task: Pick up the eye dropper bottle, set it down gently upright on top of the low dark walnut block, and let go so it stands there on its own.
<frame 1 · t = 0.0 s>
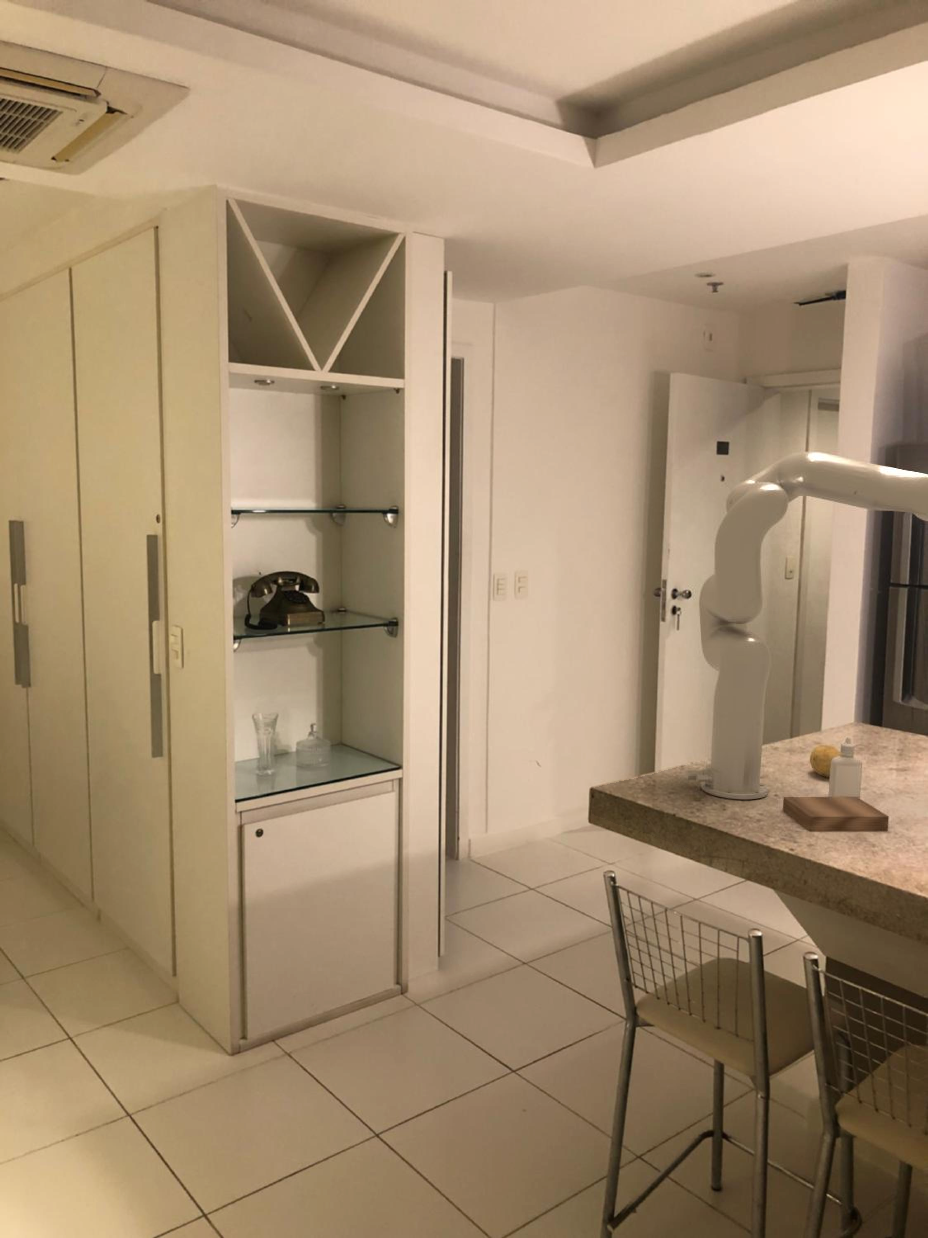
eye dropper bottle: (843, 799, 197), on the counter
walnut block: (833, 822, 183), on the counter
potato: (825, 776, 214), on the counter
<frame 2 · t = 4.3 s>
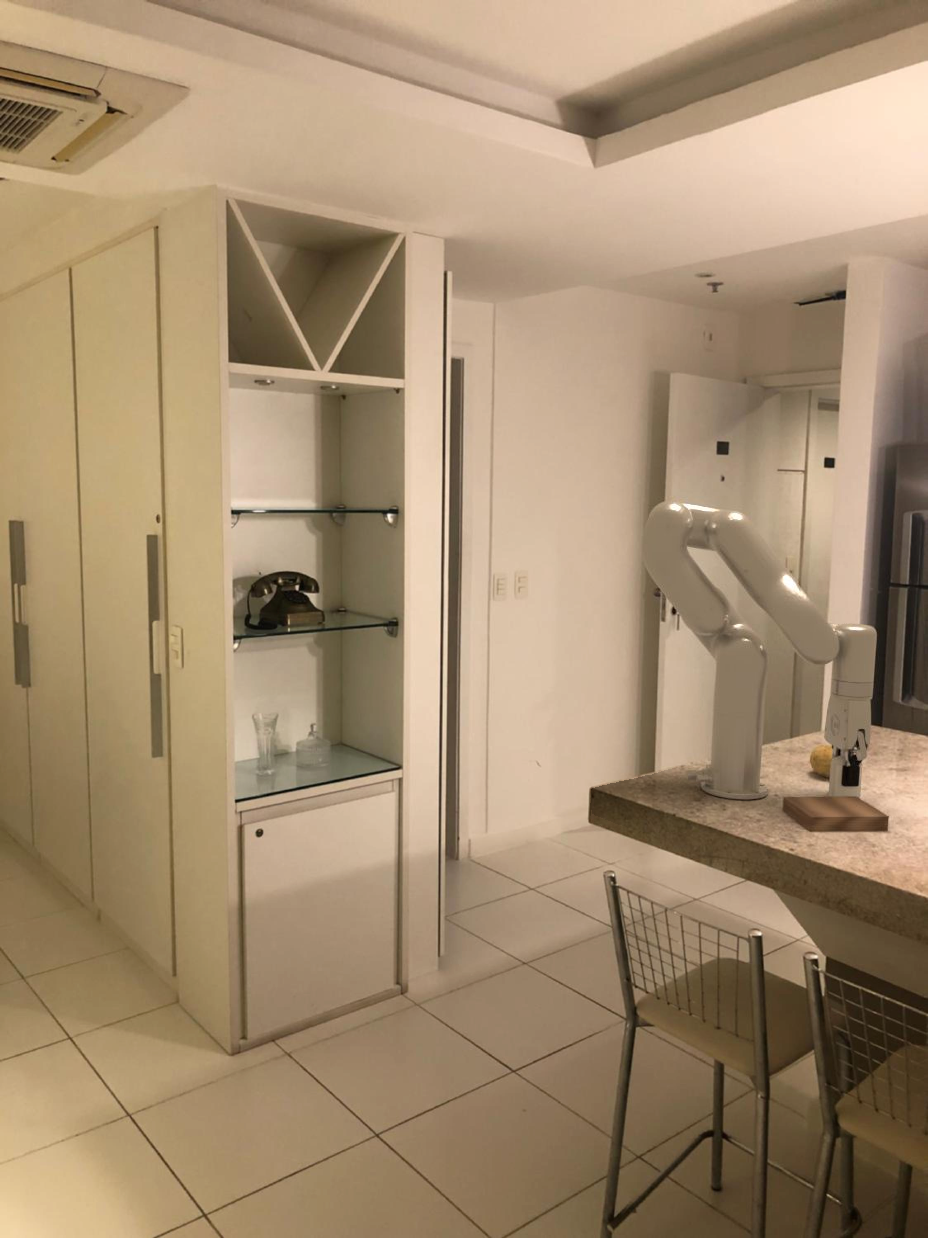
hand: (845, 782, 197), 3 cm above the counter, tool pointing down, fingers closed on eye dropper bottle, 3 cm apart
eye dropper bottle: (843, 799, 197), on the counter, touching gripper
everything else where it was.
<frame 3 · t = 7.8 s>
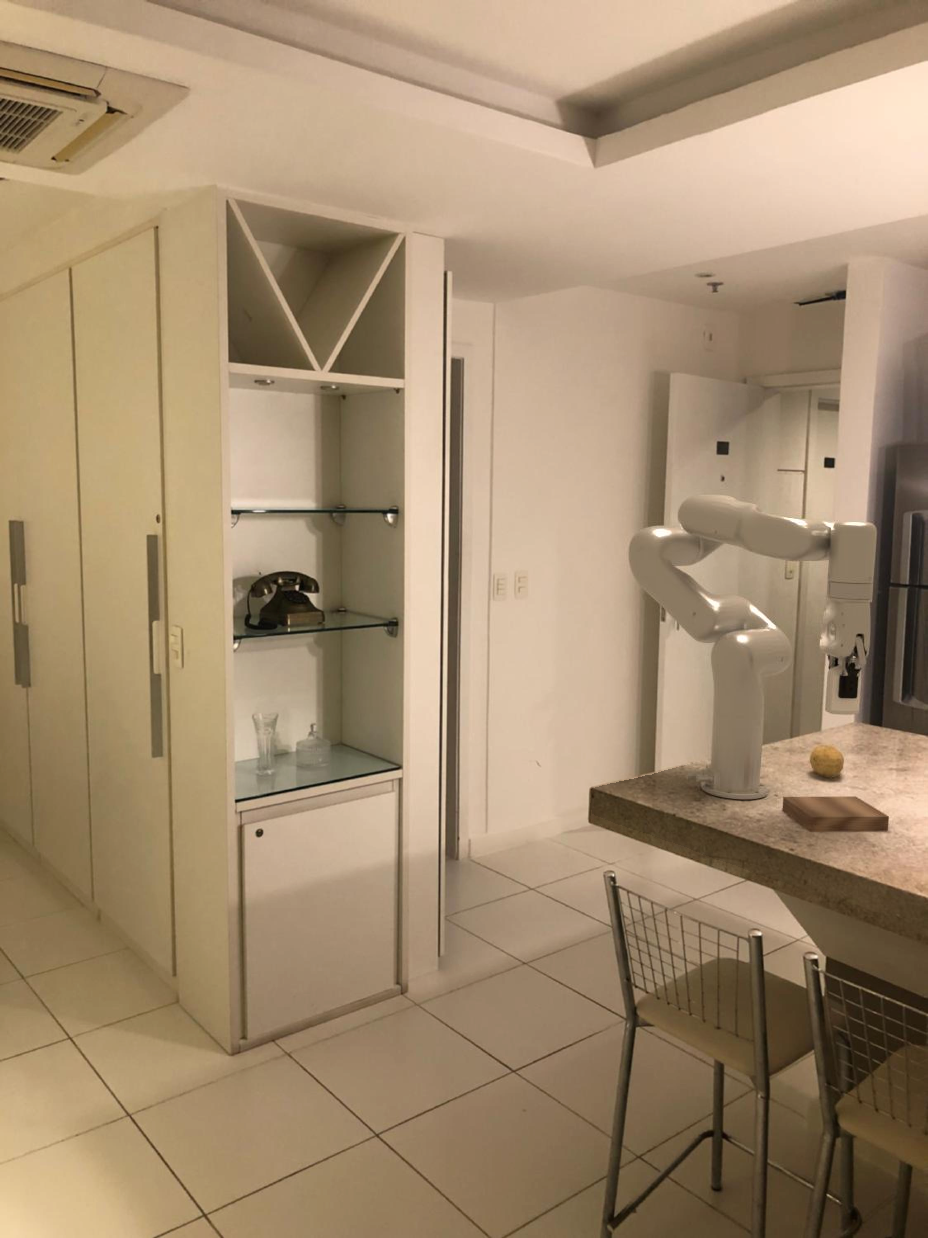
hand: (842, 694, 181), 23 cm above the counter, tool pointing down, fingers closed on eye dropper bottle, 3 cm apart
eye dropper bottle: (841, 714, 181), point 19 cm above the counter, touching gripper
everything else where it was.
when the fingers open (7 cm above the counter, at t = 11.4 s): eye dropper bottle drops 1 cm, point 2 cm above the counter.
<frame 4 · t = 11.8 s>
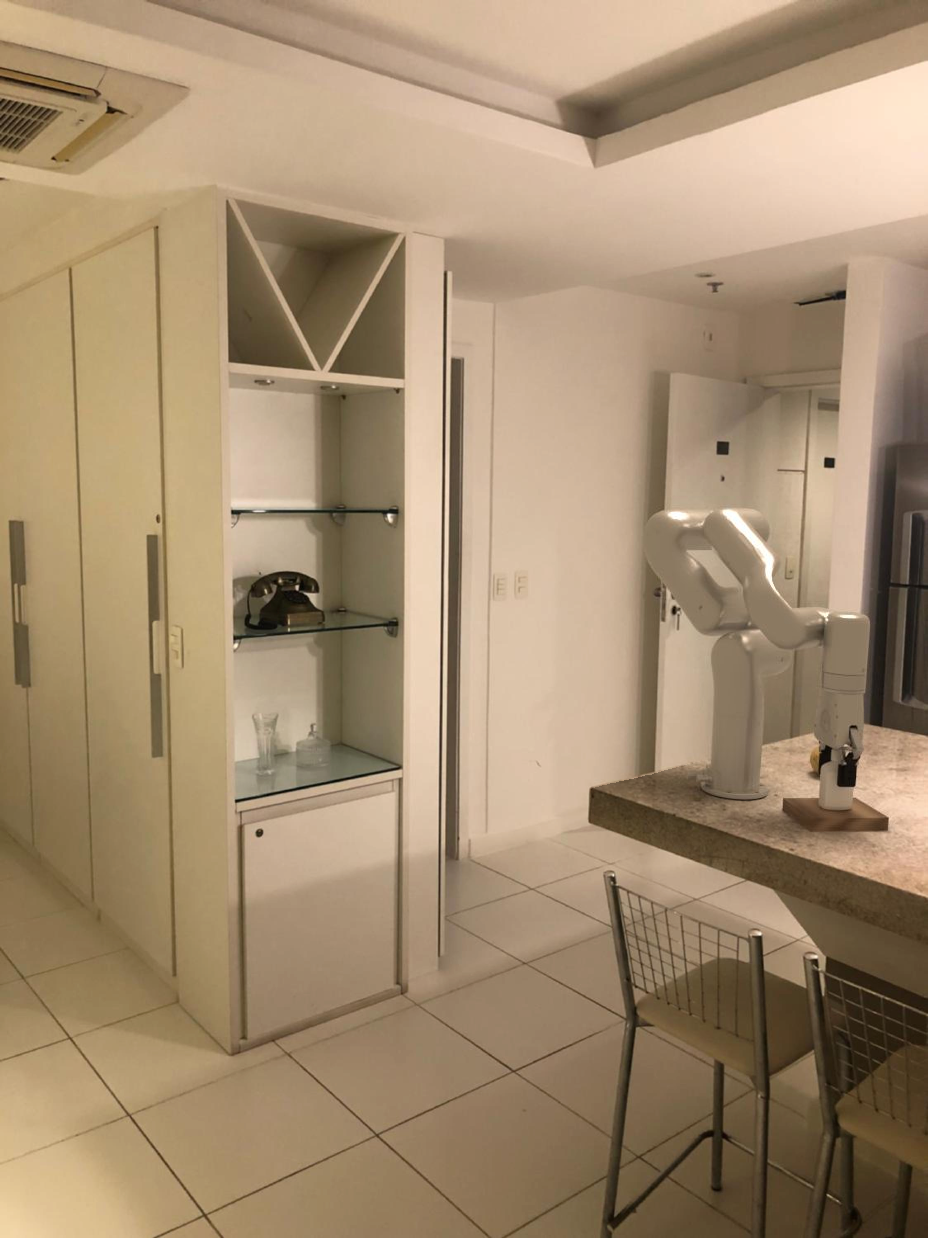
hand: (836, 779, 182), 7 cm above the counter, tool pointing down, fingers open, 7 cm apart
eye dropper bottle: (835, 809, 183), point 2 cm above the counter
everything else where it was.
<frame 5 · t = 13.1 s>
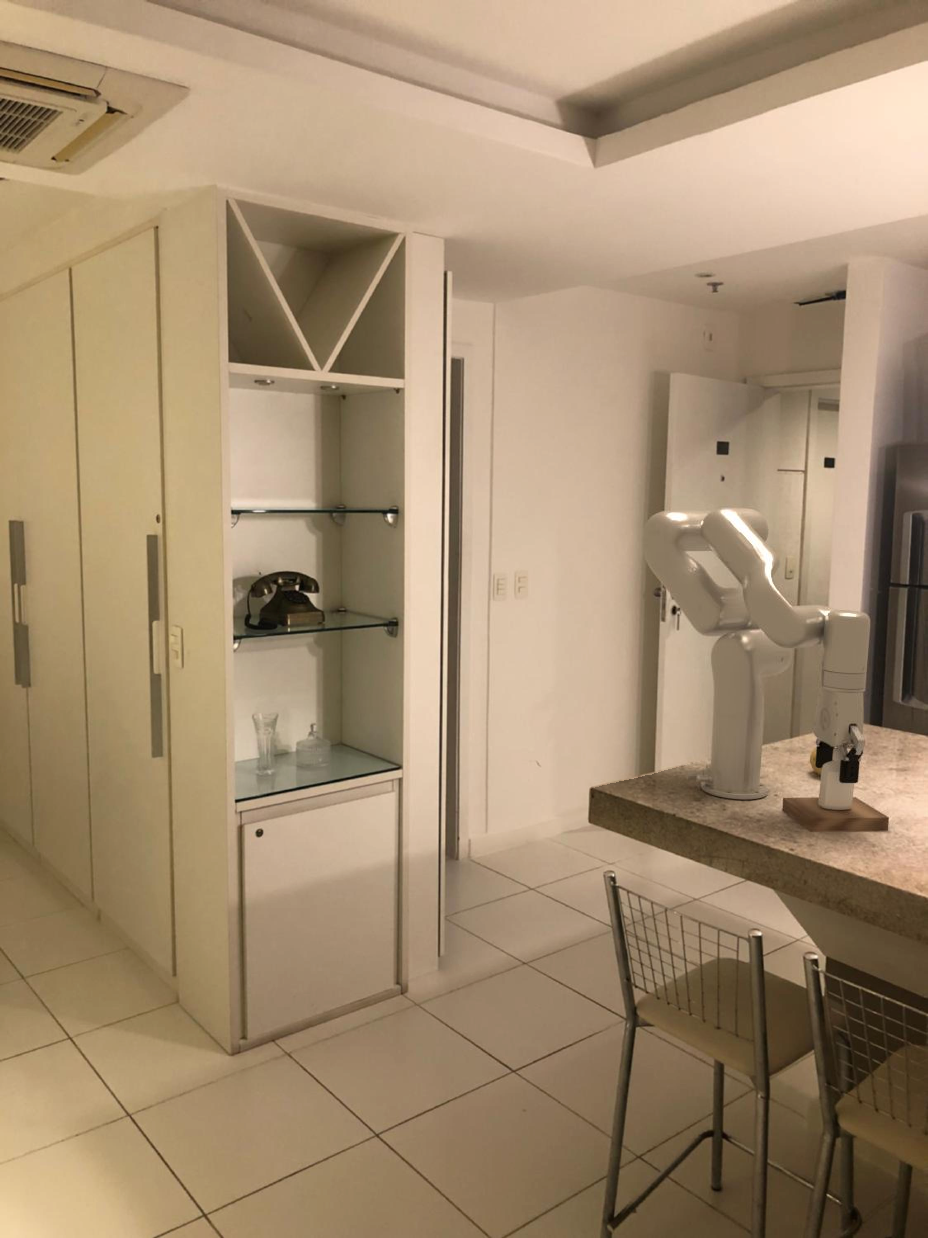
hand: (836, 775, 182), 8 cm above the counter, tool pointing down, fingers open, 9 cm apart
eye dropper bottle: (834, 808, 183), point 2 cm above the counter, touching walnut block
walnut block: (833, 823, 183), on the counter, touching eye dropper bottle
everything else where it was.
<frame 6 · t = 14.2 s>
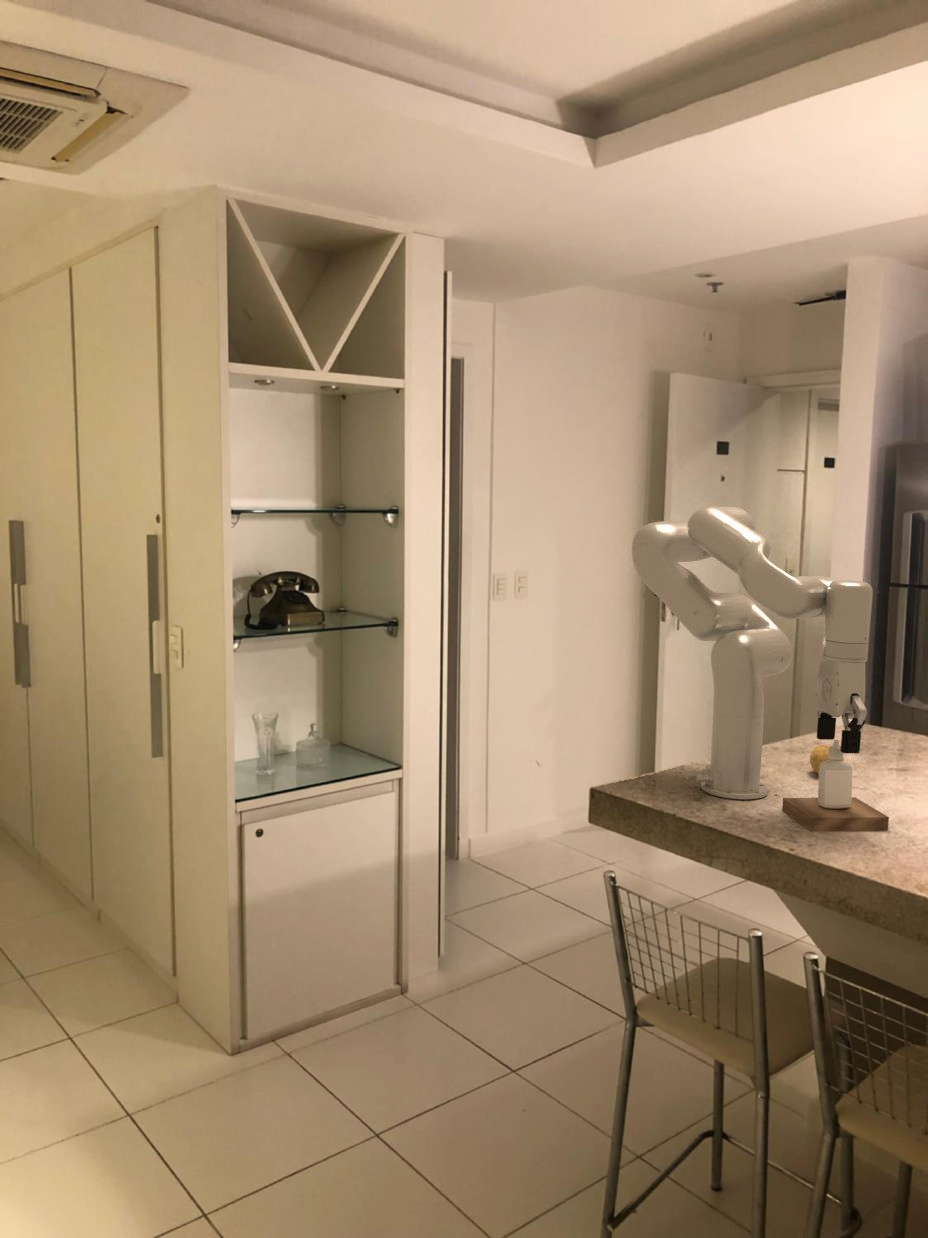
hand: (837, 745, 182), 13 cm above the counter, tool pointing down, fingers open, 9 cm apart
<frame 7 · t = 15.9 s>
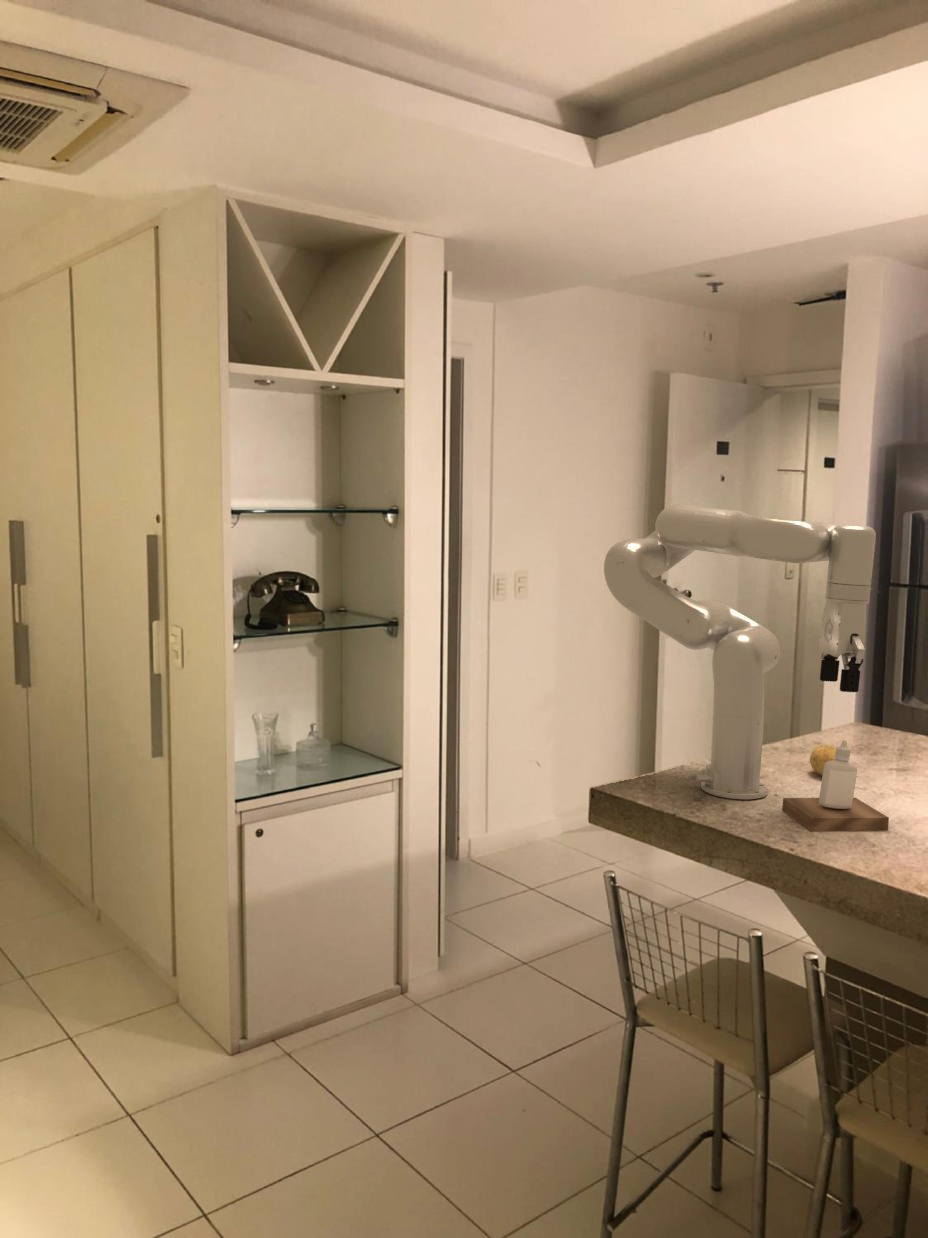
hand: (838, 686, 187), 23 cm above the counter, tool pointing down, fingers open, 9 cm apart
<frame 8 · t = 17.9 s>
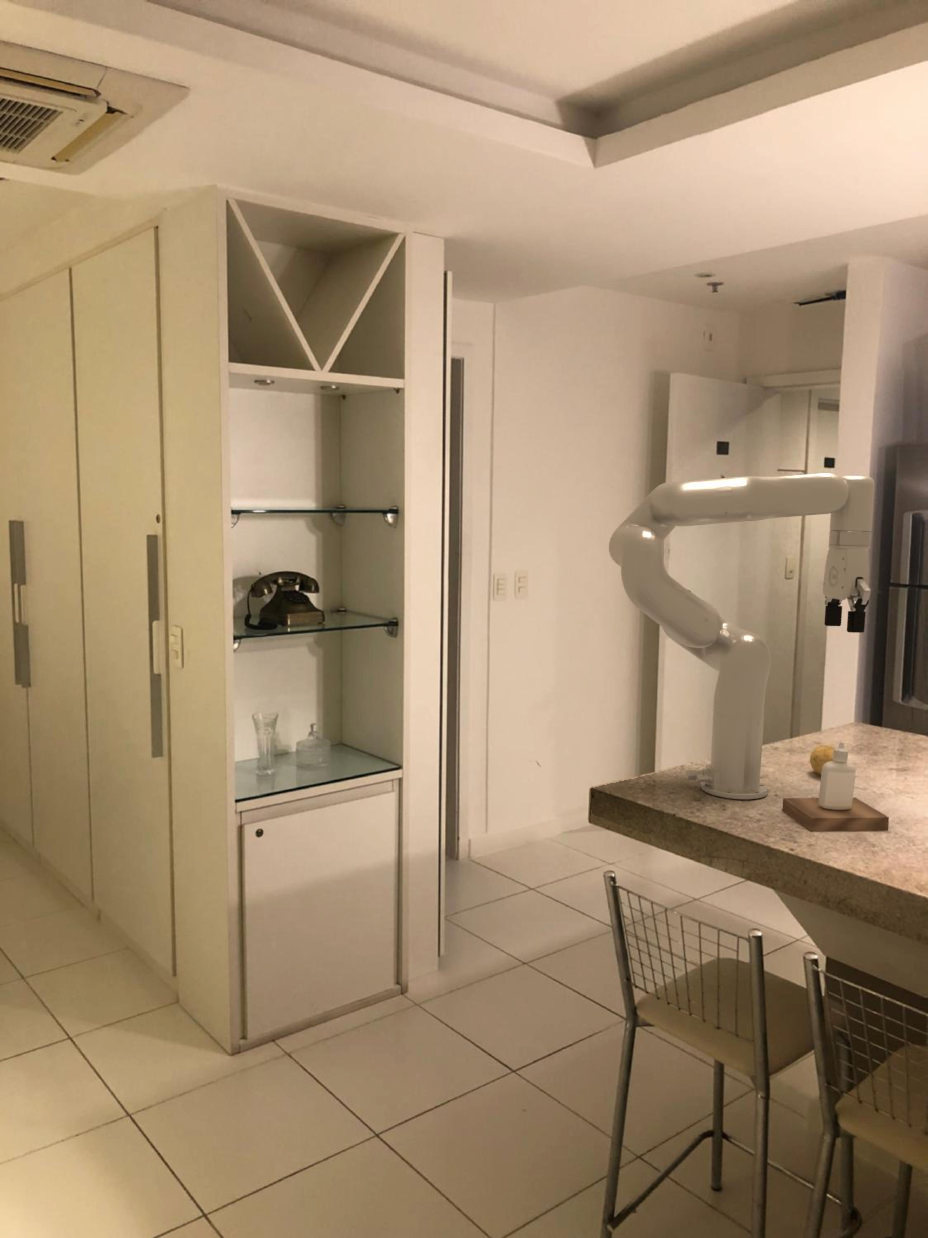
hand: (843, 629, 198), 32 cm above the counter, tool pointing down, fingers open, 9 cm apart
nothing on the counter moved.
at the end: eye dropper bottle inside the target area on the walnut block (0.2 cm from its centre), point 2.9 cm above the walnut block's base; eye dropper bottle tilted 2°; eye dropper bottle touching nothing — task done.
